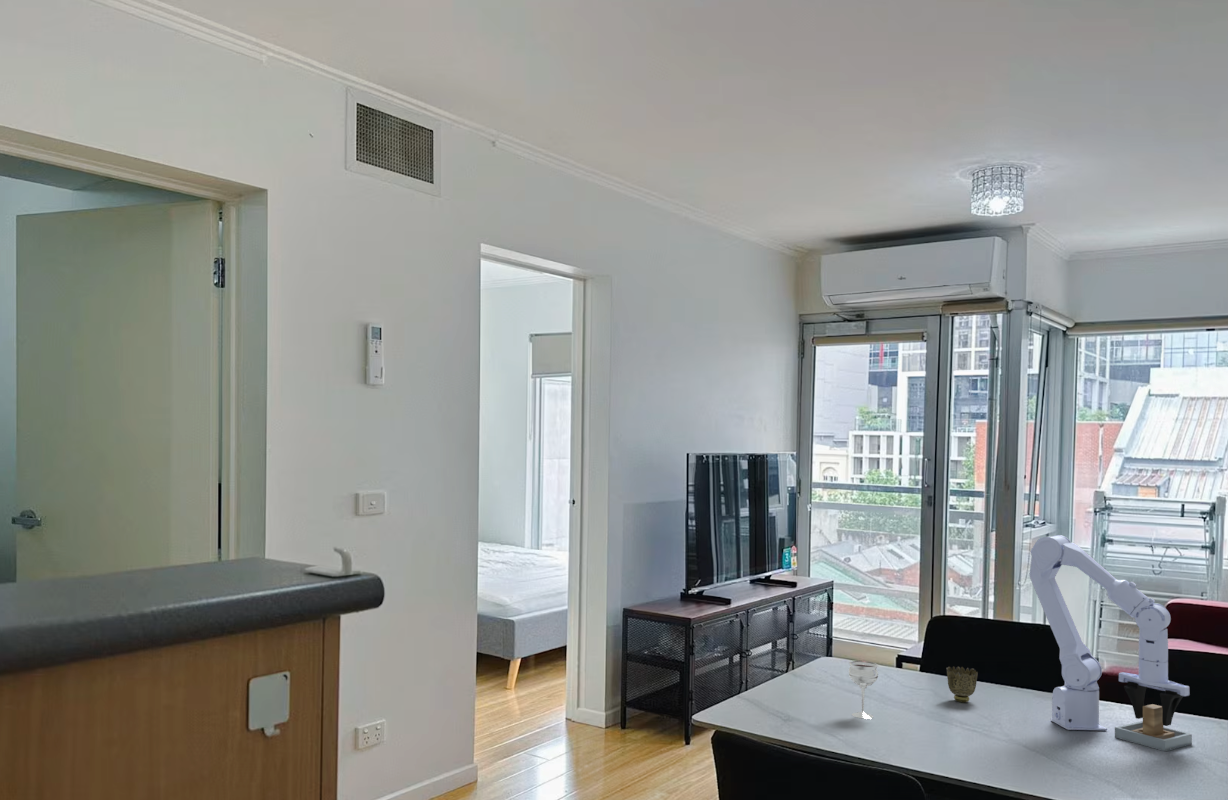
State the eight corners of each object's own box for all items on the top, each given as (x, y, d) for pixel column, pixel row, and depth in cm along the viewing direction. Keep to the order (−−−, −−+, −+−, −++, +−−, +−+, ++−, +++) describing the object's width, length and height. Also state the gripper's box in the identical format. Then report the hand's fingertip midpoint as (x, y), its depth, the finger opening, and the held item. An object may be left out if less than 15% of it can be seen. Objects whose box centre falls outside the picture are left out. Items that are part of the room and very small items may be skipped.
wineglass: (845, 717, 222) (846, 665, 223) (849, 710, 228) (850, 659, 229) (875, 721, 219) (876, 668, 220) (879, 714, 226) (880, 662, 226)
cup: (979, 706, 236) (980, 673, 236) (948, 703, 237) (949, 671, 238) (974, 698, 243) (974, 667, 243) (944, 696, 244) (944, 665, 245)
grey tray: (1191, 744, 209) (1191, 734, 209) (1165, 751, 203) (1165, 740, 203) (1141, 730, 219) (1141, 721, 219) (1114, 737, 213) (1114, 727, 213)
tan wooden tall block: (1163, 738, 211) (1163, 706, 211) (1153, 741, 209) (1153, 708, 209) (1152, 735, 213) (1152, 704, 213) (1142, 738, 211) (1142, 706, 211)
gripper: (1196, 664, 208) (1196, 727, 207) (1130, 651, 220) (1130, 711, 219) (1179, 667, 204) (1179, 732, 203) (1113, 654, 216) (1113, 714, 216)
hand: (1153, 721), depth 211 cm, fingers open, 5 cm apart
